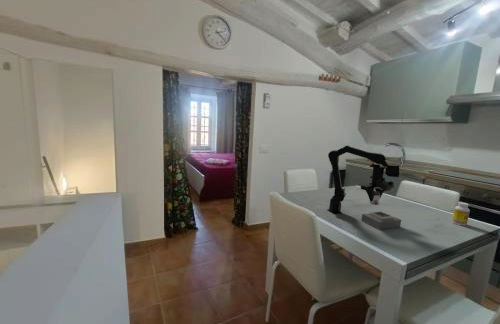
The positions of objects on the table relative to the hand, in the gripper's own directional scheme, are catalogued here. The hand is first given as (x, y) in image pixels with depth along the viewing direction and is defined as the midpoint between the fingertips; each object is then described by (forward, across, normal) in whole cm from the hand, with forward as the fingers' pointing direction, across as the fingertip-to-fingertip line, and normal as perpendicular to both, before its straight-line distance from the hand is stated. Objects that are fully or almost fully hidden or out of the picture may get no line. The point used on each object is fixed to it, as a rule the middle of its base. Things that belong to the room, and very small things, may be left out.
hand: (374, 201), depth 136 cm
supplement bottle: (+12, +49, -19) cm, 54 cm away
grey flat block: (+11, -1, -6) cm, 13 cm away
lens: (+2, 0, 0) cm, 2 cm away
